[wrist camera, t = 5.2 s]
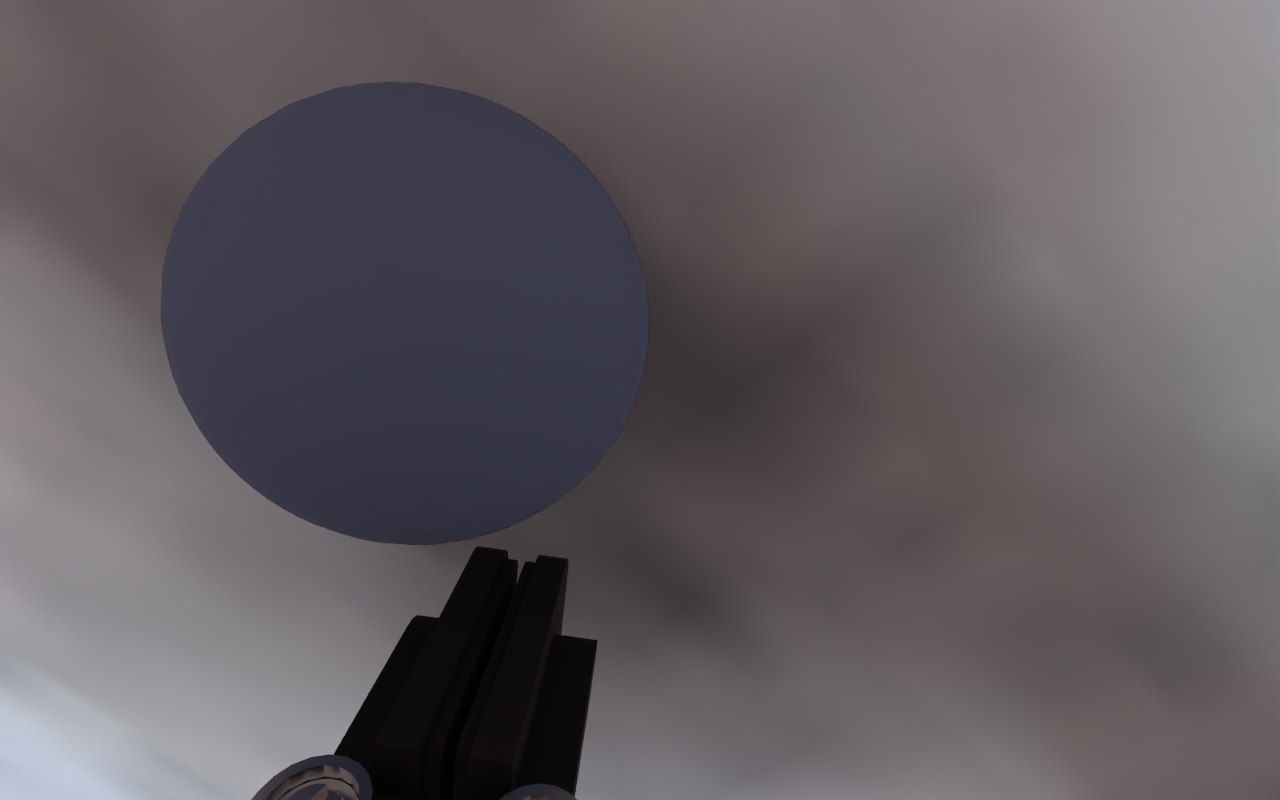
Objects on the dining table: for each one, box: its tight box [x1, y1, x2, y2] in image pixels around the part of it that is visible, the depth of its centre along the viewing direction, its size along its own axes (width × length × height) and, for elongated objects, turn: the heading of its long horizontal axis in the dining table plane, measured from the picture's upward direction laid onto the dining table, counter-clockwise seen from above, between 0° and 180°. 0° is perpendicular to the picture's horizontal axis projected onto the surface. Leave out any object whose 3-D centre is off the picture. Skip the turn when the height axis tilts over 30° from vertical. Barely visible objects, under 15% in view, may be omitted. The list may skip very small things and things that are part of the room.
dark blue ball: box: [161, 82, 649, 545], centre depth 8 cm, size 6×6×6 cm
